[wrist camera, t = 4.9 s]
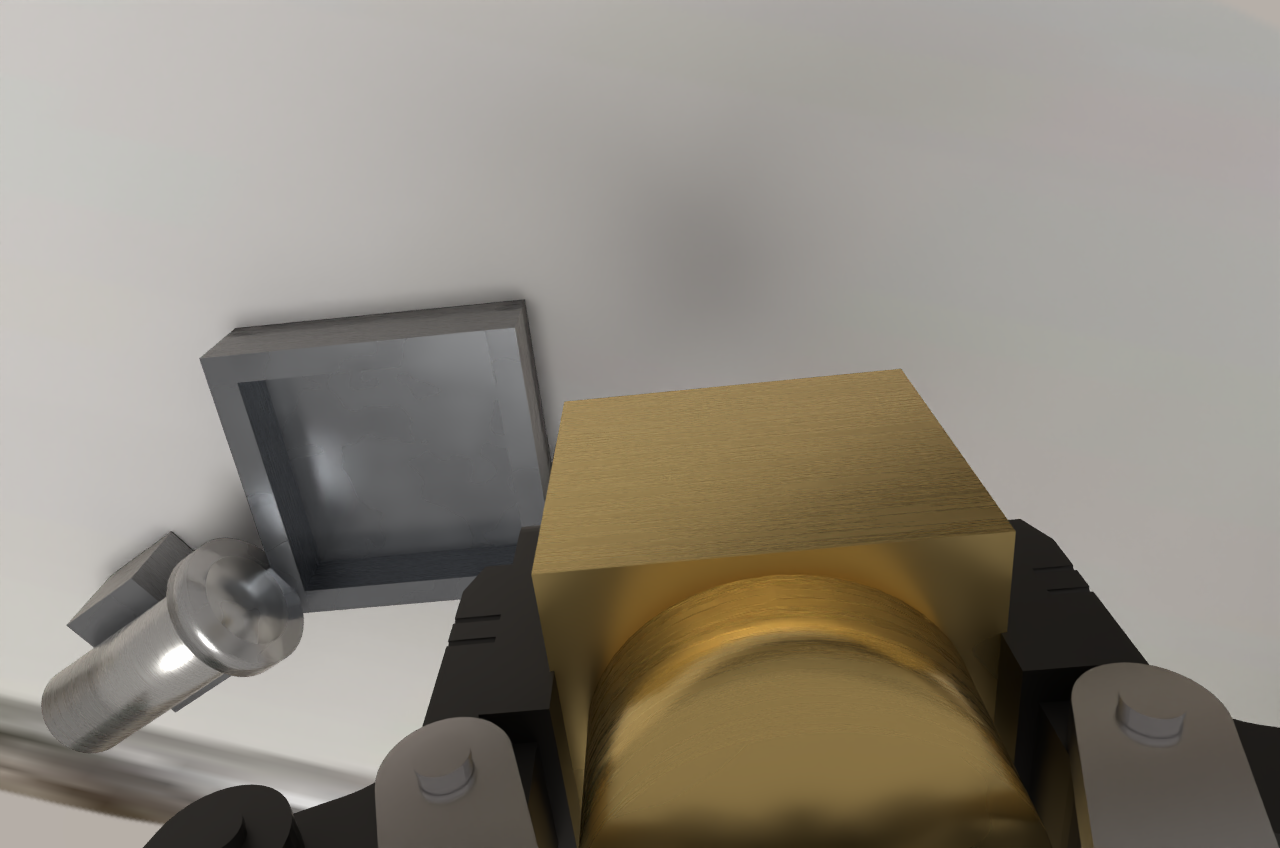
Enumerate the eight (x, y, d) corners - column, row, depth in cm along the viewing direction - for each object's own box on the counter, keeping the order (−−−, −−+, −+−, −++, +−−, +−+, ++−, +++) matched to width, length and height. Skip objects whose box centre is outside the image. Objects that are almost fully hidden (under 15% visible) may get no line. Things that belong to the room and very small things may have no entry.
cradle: (524, 299, 26) (514, 327, 24) (565, 546, 30) (559, 590, 27) (235, 328, 26) (199, 358, 24) (311, 569, 30) (286, 614, 28)
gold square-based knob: (901, 368, 12) (1122, 682, 6) (895, 639, 14) (1061, 1056, 8) (564, 401, 12) (502, 731, 7) (605, 663, 14) (582, 1085, 8)
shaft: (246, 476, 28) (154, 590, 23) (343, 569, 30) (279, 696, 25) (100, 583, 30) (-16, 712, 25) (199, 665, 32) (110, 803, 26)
